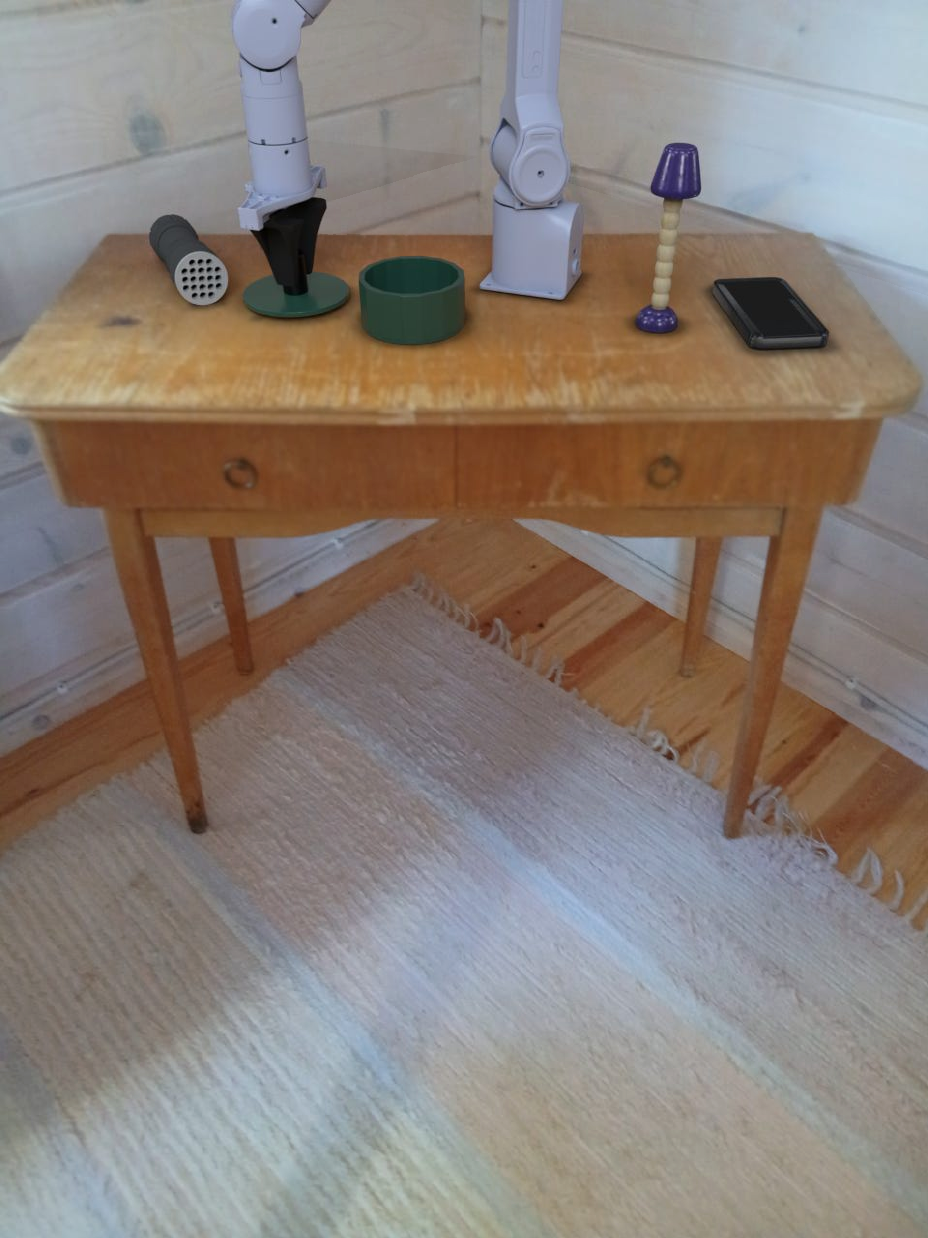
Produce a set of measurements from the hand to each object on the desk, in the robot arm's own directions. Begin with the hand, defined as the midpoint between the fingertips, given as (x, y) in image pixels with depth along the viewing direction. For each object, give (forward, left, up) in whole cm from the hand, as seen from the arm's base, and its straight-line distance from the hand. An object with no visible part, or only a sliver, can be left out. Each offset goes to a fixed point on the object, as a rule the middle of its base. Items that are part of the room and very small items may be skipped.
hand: (294, 278), depth 100 cm
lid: (0, 0, -2) cm, 2 cm away
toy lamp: (-37, -7, -3) cm, 38 cm away
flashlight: (+14, -1, -3) cm, 14 cm away
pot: (-14, +1, -2) cm, 14 cm away
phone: (-48, -12, -2) cm, 49 cm away
